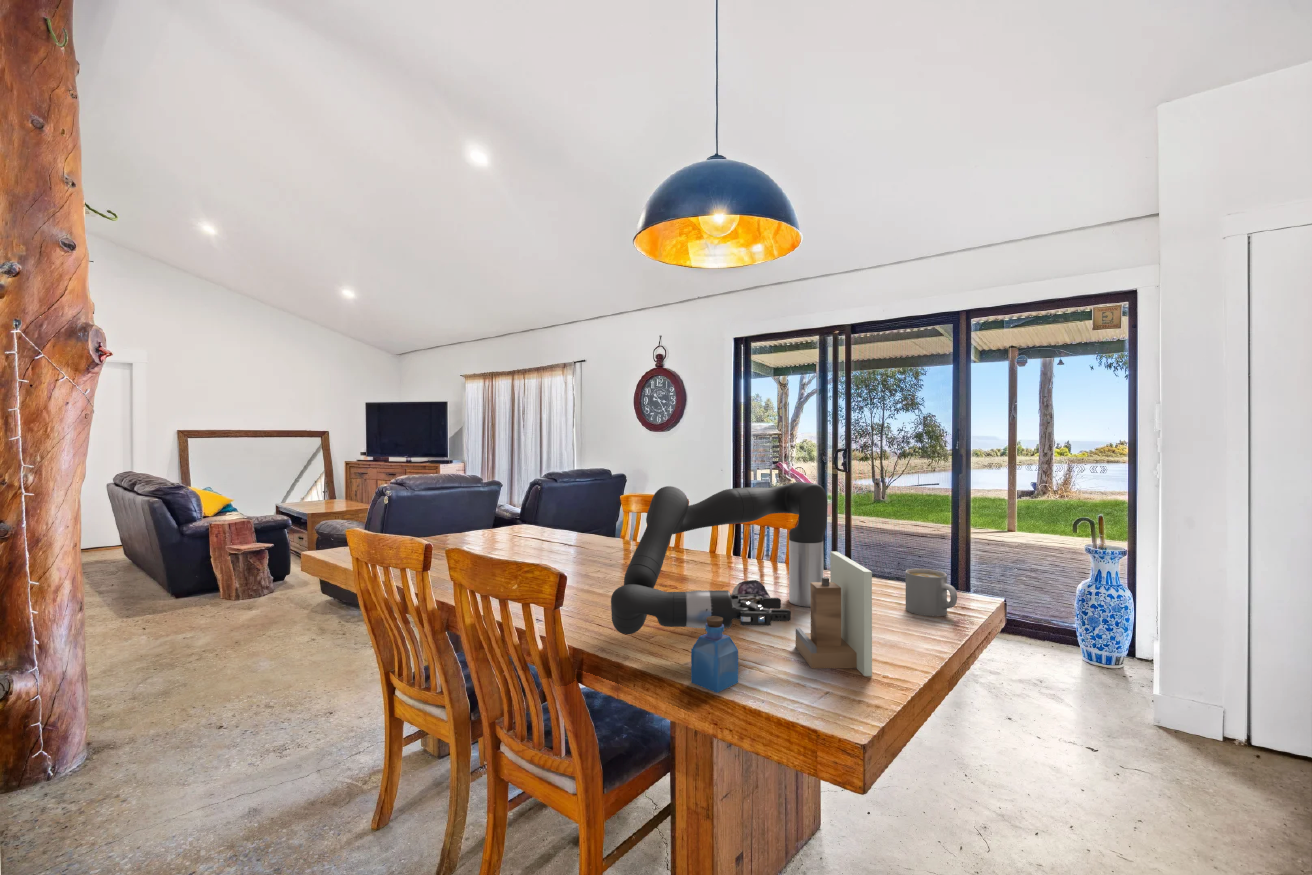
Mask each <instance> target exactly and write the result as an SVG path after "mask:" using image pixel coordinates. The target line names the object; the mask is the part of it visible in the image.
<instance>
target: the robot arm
mask: <svg viewBox="0 0 1312 875" xmlns="http://www.w3.org/2000/svg"><path fill="white" fill-rule="evenodd" d="M772 514H794V515H798V522H797V525H796V526H794V527H793V528H791V529H790V530H789V531H788V532H789V533H788V537H789V538H788V557H789V558H788V560H789V563H788V565H789V567H788V575H789V576H788V579H789V580H788V594H789V596H788V598H789V599H788V601H789V603H791V604H792V605H795V606H799V607H810V608H811V582H822V577H824V535H825V533H826V530H827V522H828V521H827V520H828V495H827V491H826V490H825V488H824V487H823V486H822V485H820V484H818V483H814V482H804V481H794V482H790V483H786V484H782V485H777V486H772V487H761V486H760V487H757V486H755V487H753V486H750V487H737V488H736V487H735V488H734V487H733V488H727V489H723V490H721V491H719V492H717V493H715V494H712V495H711V496H709V497H706V498H705V499H704V500H703V499H702V501H699V502H697V503H694V504H689V500H688V497H687V495H686V493H685V492H684V491H683V490H681V489H680V488H678V487H676V486H671V485H668V486H663V487H661V488H659V489H658V490H656V492H655V493H654V494H653V496H652V498H651V501H650V503H649V507H648V509H647V512H646V517H645V521H646V522H645V523H646V528H645V529H644V532H643V534H642V536H641V538H640V540H639V543H638V544H637V547H636V548H635V551H634V553H633V555H632V558H631V559H630V561H629V564H628V566H627V568H626V571H625V574H624V576H623V577H624V578H623V580H624V581H623V585H621V586H619V587H617V588H616V589H615V590H614V591H613V593H612V594H611V597H610V608H611V609H610V610H611V621H612V625H613V627H614V629H615V630H616V631H617V632H618V633H621V634H622V635H632V634H635V633H637V632H638V631H639V630H641V628H642V627H643V626H644V624H645V622H646V620H647V617H648V616H652V617H655V618H656V619H657V623H659V625H660V626H661V627H666V628H694V629H705V625H706V624H707V619H706V618H707V617H709V616H719V617H722V618H723V622H722V624H723V625H724V629H730V628H731V627H732V626H733V625H732V624H733V620H739V621H740V625H741V626H743V627H744V626H759V627H760V626H761V627H763V626H764V627H765V626H767V627H769V626H772V623H773V622H790V621H791V619H792V617H791V613H792V611H791V610H790V609H787V608H784V609H783V608H781V607H782V599H781V598H780V597H770V598H763V599H762V597H761V596H758V595H757V594H733V595H731V594H732V593H731V592H730V591H729V590H722V589H721V590H719V589H718V590H715V589H714V590H713V589H711V590H710V589H709V590H704V589H703V590H699V589H698V590H690V591H665V590H660V589H657V588H655V586H656V584H657V581H658V579H659V577H660V573H661V571H662V567H663V564H664V562H665V561H664V560H665V557H666V555H667V550H668V549H669V545H670V541H671V540H672V536H673V535H676V534H681V533H685V532H689V531H693V530H697V529H702V528H709V527H717V526H723V525H731V524H732V525H734V524H744V523H751V522H754V521H758V520H760V519H762V518H764V517H766V516H769V515H772ZM762 616H764V617H762Z"/></svg>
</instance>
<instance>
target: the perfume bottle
mask: <svg viewBox="0 0 1312 875" xmlns="http://www.w3.org/2000/svg"><path fill="white" fill-rule="evenodd" d="M706 619H707V624H706V625H705V628H704V629H705V631H706V633H705V634H702V635H700V636H699V637H698V638H697V639H696V641H695V643H694V645H693V646H692V648H691V651H690V653H691V655H690V656H691V657H690V660H691V662H690V664H691V665H690V666H691V670H690V671H691V672H690V674H691V676H690V677H691V678H690V681H691V684H694V685H697V686H699V687H701V688H704V689H707V690H709V691H712V692H713V693H716V694H717V693H720V692H722V691H724V690H726V689H729V688H730V687H733V686H734V685H736V684H738V683H739V648H738V647H737V646H736V643H735V642H734V641H733V640H732V638H731V636H729V635H728V634H727V635H726V634H723V633H724V632H725V628H724V625H723V624H722V622H723V618H722V617H719V616H709V617H707V618H706Z"/></svg>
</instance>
